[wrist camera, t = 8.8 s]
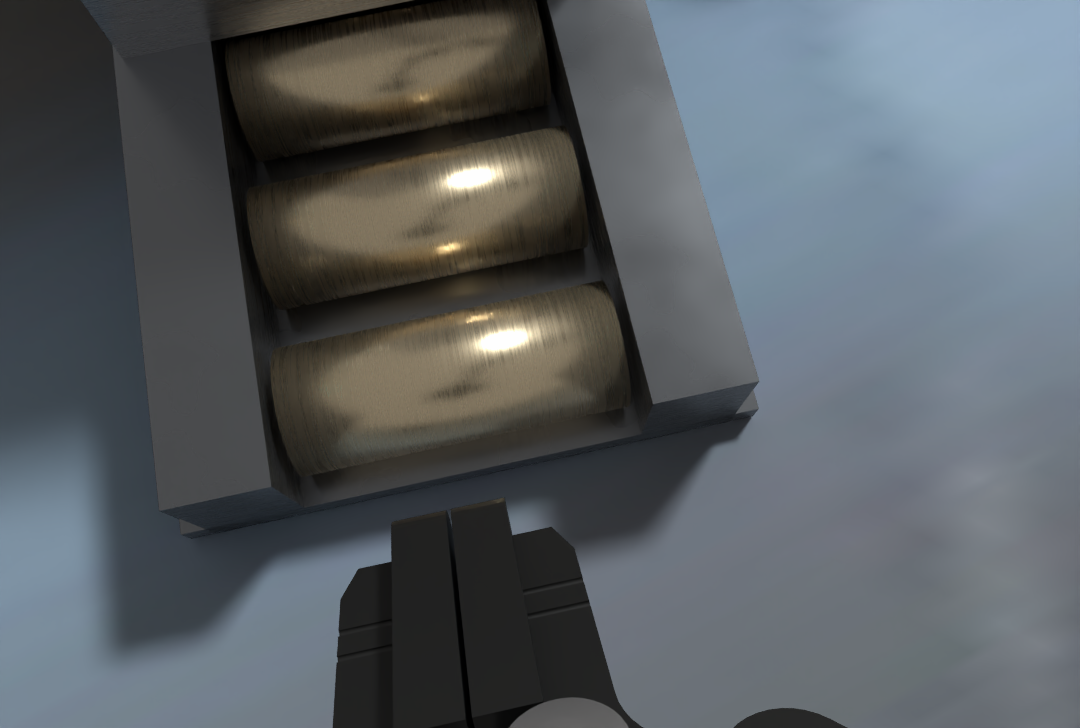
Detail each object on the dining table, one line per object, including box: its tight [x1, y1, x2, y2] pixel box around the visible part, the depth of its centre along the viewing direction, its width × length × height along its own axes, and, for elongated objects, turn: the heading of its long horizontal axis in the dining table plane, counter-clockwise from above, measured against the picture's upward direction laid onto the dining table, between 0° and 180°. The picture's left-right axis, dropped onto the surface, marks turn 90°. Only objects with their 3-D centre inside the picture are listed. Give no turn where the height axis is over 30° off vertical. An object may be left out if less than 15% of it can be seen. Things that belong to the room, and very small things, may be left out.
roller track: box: [112, 0, 759, 538], centre depth 22 cm, size 22×12×3 cm, turn 12°
